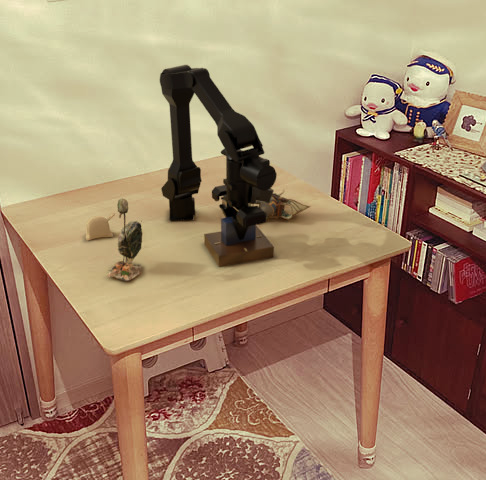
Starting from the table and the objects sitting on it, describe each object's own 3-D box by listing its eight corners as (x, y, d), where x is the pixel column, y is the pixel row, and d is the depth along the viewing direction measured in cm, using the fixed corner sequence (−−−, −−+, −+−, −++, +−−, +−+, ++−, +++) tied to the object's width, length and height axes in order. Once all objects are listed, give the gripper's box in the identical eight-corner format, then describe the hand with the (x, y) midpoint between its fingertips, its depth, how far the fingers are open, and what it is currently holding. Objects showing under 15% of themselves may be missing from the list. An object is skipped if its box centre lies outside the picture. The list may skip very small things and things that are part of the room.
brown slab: (219, 267, 171) (218, 255, 170) (204, 244, 181) (204, 233, 179) (273, 257, 175) (274, 246, 173) (256, 235, 184) (256, 224, 183)
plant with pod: (156, 266, 173) (150, 188, 161) (124, 286, 165) (117, 206, 154) (130, 256, 177) (123, 180, 165) (98, 276, 169) (89, 198, 158)
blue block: (226, 245, 174) (226, 222, 170) (221, 240, 176) (220, 217, 173) (255, 239, 176) (256, 216, 173) (250, 234, 179) (250, 211, 175)
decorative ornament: (84, 234, 187) (81, 215, 184) (116, 229, 189) (114, 211, 186) (86, 241, 184) (84, 222, 181) (118, 236, 186) (116, 217, 183)
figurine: (252, 180, 201) (313, 185, 198) (251, 201, 204) (311, 205, 201) (241, 206, 184) (307, 211, 181) (240, 228, 187) (305, 234, 184)
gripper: (288, 184, 162) (285, 245, 171) (251, 157, 177) (250, 215, 185) (244, 193, 159) (243, 255, 168) (210, 165, 173) (211, 223, 182)
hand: (238, 236), depth 176 cm, fingers closed on blue block, 3 cm apart
